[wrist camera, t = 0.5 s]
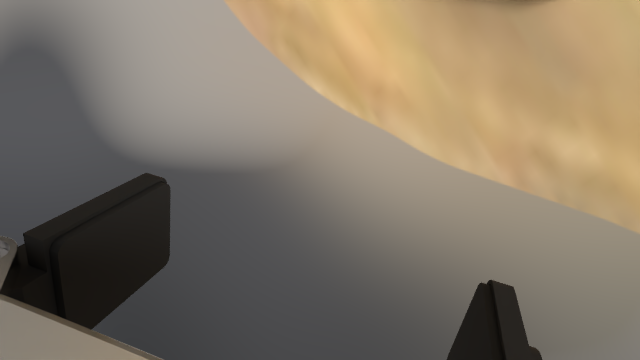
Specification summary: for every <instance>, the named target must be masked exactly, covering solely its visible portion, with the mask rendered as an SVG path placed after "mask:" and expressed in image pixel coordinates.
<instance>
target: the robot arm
mask: <svg viewBox="0 0 640 360" xmlns="http://www.w3.org/2000/svg"><path fill="white" fill-rule="evenodd" d="M23 236H24V241H25V244H23V245H21V246H19V247H18V245H17V243H16V242H15V241H14V240H13V239H11V238H8V237H3V236H0V360H163V359H161V358H158V357H156V356H153V355H151V354H149V353H146V352H144V351H141V350H139V349H136V348H134V347H132V346H129V345H127V344H124V343H122V342H119V341H117V340H114V339H112V338H110V337H107V336H105V335H103V334H100V333H98V332H95V331H93V330H91V329H93V328H94V327H95V326H96V325H97V324H98V323H100V322H101V321H102V320H103V319H104V318H105V317H106V316H108V315H109V314H110V313H111V312H112V311H113V310H115V309H116V308H117V307H118V306H119V305H120V304H122V303H123V302H124V301H125V300H126V299H127V298H128V297H130V296H131V295H132V294H133V293H134V292H135V291H137V290H138V289H139V288H140V287H141V286H143V285H144V284H145V283H146V282H147V281H148V280H150V279H151V278H152V277H153V276H154V275H155V274H156V273H158V272H159V271H160V270H161V269H162V268H163V267H164V266H165V265H166V264H167V262H168V260H169V256H170V186H169V185H168V184H167V182H166V180H165V179H164V178H162V177H158V176H155V175H152V174H149V173H145V174H142V175H140V176H138V177H137V178H134V179H132V180H131V181H128V182H126V183H124V184H122V185H120V186H118V187H116V188H114V189H112V190H110V191H109V192H106V193H104V194H102V195H100V196H98V197H96V198H94V199H92V200H90V201H88V202H86V203H84V204H82V205H80V206H78V207H76V208H74V209H72V210H70V211H68V212H66V213H64V214H62V215H60V216H58V217H55V218H53V219H52V220H49V221H47V222H46V223H44V224H42V225H39V226H37V227H35V228H33V229H31V230H29V231H27V232H25V233H23ZM447 360H542V357H541V355H540V352H539V351H538V350H537V349H536V348H534V347H531V346H529V344H528V341H527V337H526V333H525V329H524V325H523V321H522V317H521V313H520V309H519V305H518V301H517V297H516V293H515V290H514V287H512V286H509V285H506V284H503V283H499V282H496V281H493V280H489V281H488V283H487V284H484V283H480V284H479V285H478V287H477V289H476V292H475V294H474V297H473V299H472V301H471V303H470V306H469V308H468V310H467V313H466V315H465V318H464V320H463V322H462V325H461V327H460V329H459V331H458V334H457V336H456V338H455V341H454V343H453V345H452V348H451V350H450V352H449V355H448V358H447Z"/></svg>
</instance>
